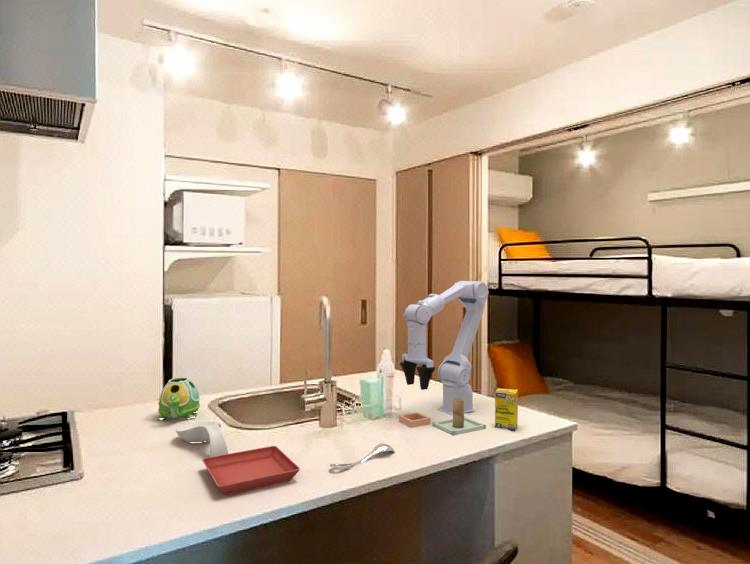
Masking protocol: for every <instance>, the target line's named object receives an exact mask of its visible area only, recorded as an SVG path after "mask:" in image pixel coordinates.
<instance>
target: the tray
mask: <svg viewBox="0 0 750 564" xmlns="http://www.w3.org/2000/svg"><path fill="white" fill-rule="evenodd" d="M432 427H433V428H436V429H438V430H441V431H443V432H445V433H447V434H449V435H451V436H459V435H463V434H467V433H473V432H477V431H482V430H487V425H486V424H485V423H482V422H479V421H476V420H474V419H471V418H469V417H466V416H464V427H463V428H455V427H453V418H449V419H444V420H437V421H432Z"/></svg>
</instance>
